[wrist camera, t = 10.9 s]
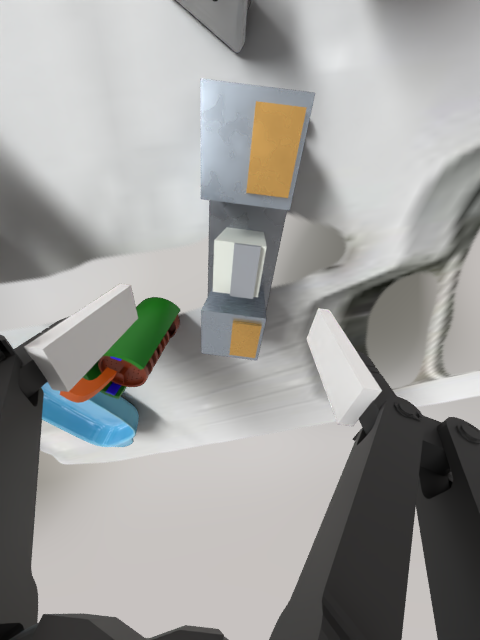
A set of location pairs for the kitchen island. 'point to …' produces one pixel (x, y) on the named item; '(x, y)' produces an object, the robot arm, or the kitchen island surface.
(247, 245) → the block
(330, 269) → the kitchen island surface
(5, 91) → the kitchen island surface
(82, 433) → the casserole dish
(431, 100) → the kitchen island surface
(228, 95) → the rail
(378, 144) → the kitchen island surface
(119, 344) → the motor
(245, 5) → the electrical switch
